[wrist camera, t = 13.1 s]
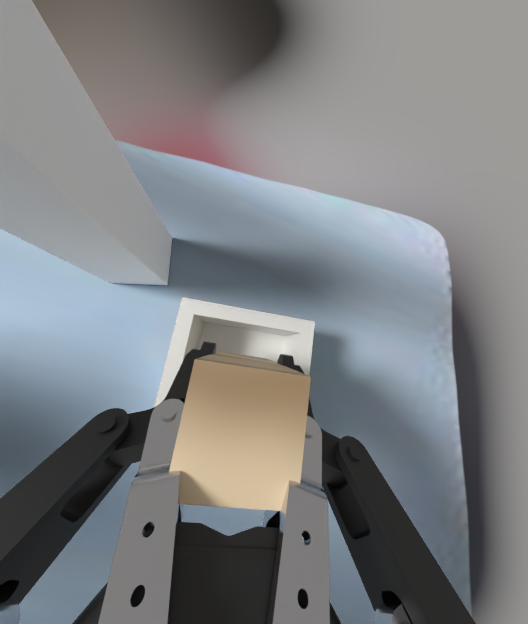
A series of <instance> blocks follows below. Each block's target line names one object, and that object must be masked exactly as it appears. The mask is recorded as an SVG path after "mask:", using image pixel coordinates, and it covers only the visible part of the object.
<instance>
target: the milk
mask: <svg viewBox="0 0 528 624" xmlns="http://www.w3.org/2000/svg"><path fill="white" fill-rule="evenodd" d="M0 228H1V229H3V230H5V231H7V232H9V233H11V234H13V235H15V236H17V237H19V238H21V239H23V240H25V241H27V242H29V243H31V244H33V245H35V246H37V247H39V248H41V249H43V250H45V251H47V252H49V253H51V254H53V255H55V256H57V257H59V258H61V259H63V260H65V261H67V262H69V263H71V264H73V265H75V266H77V267H79V268H81V269H83V270H85V271H87V272H89V273H91V274H93V275H95V276H97V277H99V278H101V279H103V280H105V281H107V282H109V283H124V284H148V285H168V278H169V267H170V256H171V245H172V236H171V235H170V233H169V231H168V230H167V228H166V226H165V225H164V223H163V221H162V219H161V218H160V216H159V214H158V213H157V211H156V209H155V208H154V206H153V204H152V203H151V201H150V199H149V198H148V196H147V194H146V193H145V191H144V189H143V187H142V186H141V184H140V182H139V181H138V179H137V177H136V176H135V174H134V172H133V171H132V169H131V167H130V166H129V164H128V162H127V160H126V159H125V157H124V155H123V154H122V152H121V150H120V149H119V147H118V145H117V144H116V142H115V140H114V139H113V137H112V135H111V134H110V132H109V130H108V129H107V127H106V125H105V123H104V122H103V120H102V118H101V117H100V115H99V113H98V112H97V110H96V108H95V107H94V105H93V103H92V102H91V100H90V98H89V96H88V95H87V93H86V91H85V90H84V88H83V86H82V85H81V83H80V81H79V80H78V78H77V76H76V74H75V73H74V71H73V69H72V68H71V66H70V65H69V63H68V61H67V59H66V58H65V56H64V54H63V53H62V51H61V49H60V48H59V46H58V44H57V42H56V41H55V39H54V38H53V36H52V34H51V32H50V31H49V29H48V27H47V26H46V24H45V22H44V21H43V19H42V17H41V16H40V14H39V12H38V11H37V9H36V7H35V5H34V4H33V2H32V1H31V0H0Z"/></svg>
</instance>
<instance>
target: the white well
mask: <svg viewBox="0 0 528 624" xmlns="http://www.w3.org/2000/svg"><path fill="white" fill-rule="evenodd" d="M314 327H315V322H314V321H309V320H303V319H298V318H292V317H287V316H282V315H276V314H271V313H265V312H260V311H254V310H249V309H244V308H238V307H233V306H227V305H222V304H217V303H211V302H206V301H200V300H195V299H189V298H184V297H182V300H181V304H180V308H179V312H178V316H177V319H176V323H175V327H174V331H173V335H172V339H171V343H170V347H169V351H168V355H167V359H166V363H165V367H164V371H163V374H162V378H161V382H160V386H159V390H158V394H157V398H156V402H155V406H154V407H156V406H157V405H158V404H160V403H161V402H162V401H163V400H164V399H165V397H166V396H167V394H168V392H169V389H170V387H171V385H172V383H173V381H174V379H175V377H176V375H177V373H178V371H179V368H180V366H181V364H182V362H183V360H184V358H185V356H186V354H188V353H189V352H190V351H191V350H192V349H197V350H200V349H201V347H202V344H203V342H204V341H205V342H211V343H216V353H217V352H228V353H234V354H240V355H247V356H253V357H259V358H266V359H269V360H271V361H274V362H276V363H277V361H278V359H279V356H280V354H284V355H291V356H293V360H294V365H299V366H300V367H301V369H302V370H303V372H304V374H306V375H308V376H309V374H310V365H311V355H312V346H313V336H314Z"/></svg>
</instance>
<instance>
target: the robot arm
mask: <svg viewBox="0 0 528 624" xmlns="http://www.w3.org/2000/svg"><path fill="white" fill-rule="evenodd" d="M215 353H216V343H211V342H205V341H204V342H203V344H202V347H201V349H200V350H197V349H192V350H191V351H190V352H189V353H188V354H186V356H185V358H184V360H183V362H182V364H181V366H180V368H179V371H178V373H177V375H176V377H175V379H174V381H173V383H172V385H171V387H170V389H169V392H168V394H167V396H166V397H165V399H164V400H163V401H162V402H161V403H160V404H158V405H157V406H156V407H154V408H152V409H149V410H146V411H141V412H136V413H131V414H127V412H126V411H125V410H123V409H119V408H114V409H109V410H106V411H104V412H102V413H100V414H98V415H97V416H95V417H94V418H93V419H92V420H91V421H89V422H88V423H87V424H86V425H85V426H84V427H83V428H81V429H80V430H79V431H78V432H77V433H76V434H74V435H73V436H72V437H71V438H70V439H69V440H68V441H66V442H65V443H64V444H63V445H62V446H61V447H60V448H58V449H57V450H56V451H55V452H54V453H53V454H51V455H50V456H49V457H48V458H47V459H46V460H45V461H43V462H42V463H41V464H40V465H39V466H38V467H37V468H35V469H34V470H33V471H32V472H31V473H30V474H28V475H27V476H26V477H25V478H24V479H23V480H22V481H20V482H19V483H18V484H17V485H16V486H15V487H14V488H12V489H11V490H10V491H9V492H8V493H7V494H5V495H4V496H3V497H2V498H1V499H0V624H19V621H20V607H19V603H20V602H21V601H22V600H23V598H24V597H25V596H26V595H27V593H28V592H29V591H30V590H31V588H32V587H33V586H34V585H35V583H36V582H37V581H38V580H39V578H40V577H41V576H42V575H43V573H44V572H45V571H46V570H47V568H48V567H49V566H50V565H51V563H52V562H53V561H54V560H55V558H56V557H57V556H58V555H59V553H60V552H61V551H62V550H63V548H64V547H65V546H66V545H67V543H68V542H69V541H70V540H71V538H72V537H73V536H74V535H75V533H76V532H77V531H78V530H79V528H80V527H81V526H82V525H83V523H84V522H85V521H86V520H87V518H88V517H89V516H90V515H91V513H92V512H93V511H94V510H95V508H96V507H97V506H98V505H99V503H100V502H101V501H102V500H103V498H104V497H105V496H106V495H107V493H108V492H109V491H110V490H111V488H112V487H113V486H114V485H115V483H116V482H117V481H118V480H119V478H120V477H121V476H122V475H123V473H124V472H125V471H126V470H127V469H128V467H129V466H130V465H131V464H132V463H135V462H139V461H141V463H140V467H139V470H138V473H137V475H136V476H135V477H134V479H133V482H132V485H131V488H130V492H129V496H128V500H127V504H126V508H125V513H124V517H123V521H122V525H121V529H120V534H119V538H118V542H117V546H116V551H115V555H114V559H113V563H112V567H111V572H110V576H109V580H108V582H107V584H106V585H105V586H104V587H103V588H102V589H101V591H100V592H99V593H98V594H97V595H96V596H95V598H94V599H93V600H92V601H91V602H90V603H89V605H88V606H87V607H86V608H85V609H84V611H83V612H82V613H81V614H80V615H79V616H78V618H77V619H76V620H75V621H74V622H73V623H72V624H341V622H340V620H339V618H338V617H337V615H336V613H335V611H334V609H333V607H332V605H331V603H330V601H329V539H328V501H329V503H330V506H331V508H332V510H333V513H334V515H335V518H336V520H337V522H338V525H339V527H340V530H341V532H342V534H343V537H344V539H345V541H346V544H347V546H348V549H349V551H350V553H351V556H352V558H353V560H354V563H355V565H356V568H357V570H358V572H359V575H360V577H361V580H362V582H363V584H364V587H365V589H366V591H367V594H368V596H369V599H370V601H371V603H372V606H373V608H374V610H375V614H374V620H373V624H475V622H474V620H473V619H472V617H471V616H470V614H469V612H468V611H467V609H466V608H465V606H464V605H463V603H462V601H461V600H460V598H459V597H458V595H457V593H456V592H455V590H454V589H453V587H452V585H451V584H450V582H449V581H448V579H447V577H446V576H445V574H444V573H443V571H442V570H441V568H440V566H439V565H438V563H437V562H436V560H435V558H434V557H433V555H432V554H431V552H430V550H429V549H428V547H427V546H426V544H425V543H424V541H423V539H422V538H421V536H420V535H419V533H418V531H417V530H416V528H415V527H414V525H413V523H412V522H411V520H410V519H409V517H408V515H407V514H406V512H405V511H404V509H403V508H402V506H401V504H400V503H399V501H398V500H397V498H396V496H395V495H394V493H393V492H392V490H391V488H390V487H389V485H388V484H387V482H386V480H385V479H384V477H383V476H382V474H381V473H380V471H379V469H378V468H377V466H376V465H375V463H374V461H373V460H372V458H371V457H370V455H369V453H368V452H367V450H366V449H365V447H364V446H363V445H362V444H361V443H360V442H359V441H358V440H357V439H355V438H353V437H350V436H345V437H343V438H342V439H339V438H337V437H335V436H333V435H331V434H329V433H327V432H325V431H324V430H322V429H321V428H320V426H319V425H318V423H317V422H316V421H315V420H314V417H313V414H312V409H311V404H310V399H309V403H308V413H307V422H306V432H305V442H304V452H303V461H302V471H301V481H300V483H298V482H295V481H291V480H289V483H288V486H287V490H286V493H285V497H284V501H283V504H282V508H281V511H273V510H266V511H265V516H264V522H263V527H254V528H252V529H249V530H246V531H243V532H240V533H237V534H234V535H232V536H226V535H224V534H222V533H219V532H217V531H215V530H213V529H211V528H209V527H207V526H205V525H203V524H201V523H186V522H182V515H183V504H179V494H180V472H181V471H169V470H170V465H171V461H172V456H173V452H174V448H175V443H176V439H177V434H178V430H179V426H180V421H181V417H182V412H183V408H184V404H185V399H186V395H187V390H188V386H189V382H190V377H191V373H192V368H193V364H194V360H195V359H197V358H200V357H204V356H207V355H210V354H215ZM277 363H278V364H280V365H283V366H286V367H288V368H291V369H293V370H296V371H298V372H301V373H303V374H304V372H303V370H302V369H301V367H300V366H299V365H294V360H293V356H291V355H284V354H280V356H279V359H278V361H277ZM322 487H323V488H322ZM323 489H324V490H323ZM327 499H328V500H327ZM301 535H302V536H303V538H304V543H303V541H302V537H301Z"/></svg>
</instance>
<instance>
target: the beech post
mask: <svg viewBox="0 0 528 624" xmlns="http://www.w3.org/2000/svg"><path fill="white" fill-rule="evenodd" d="M310 383H311V377H310V376H308V375H306V374H303V373H301V372H298V371H296V370H293V369H291V368H288V367H286V366H283V365H280V364H278V363H276V362H274V361H271V360H269V359H266V358H259V357H253V356H247V355H240V354H234V353H228V352H217V353H215V354H210V355H207V356H204V357H200V358H197V359H195V360H194V364H193V368H192V373H191V377H190V382H189V386H188V390H187V395H186V399H185V404H184V408H183V412H182V417H181V421H180V426H179V430H178V434H177V439H176V443H175V448H174V452H173V456H172V461H171V465H170V470H169V471H181V472H180V494H179V504H188V505H202V506H216V507H230V508H245V509H259V510H273V511H281V508H282V504H283V501H284V497H285V493H286V490H287V486H288V483H289V480H291V481H295V482H298V483H300V481H301V471H302V461H303V452H304V442H305V432H306V422H307V413H308V403H309V393H310Z"/></svg>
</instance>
